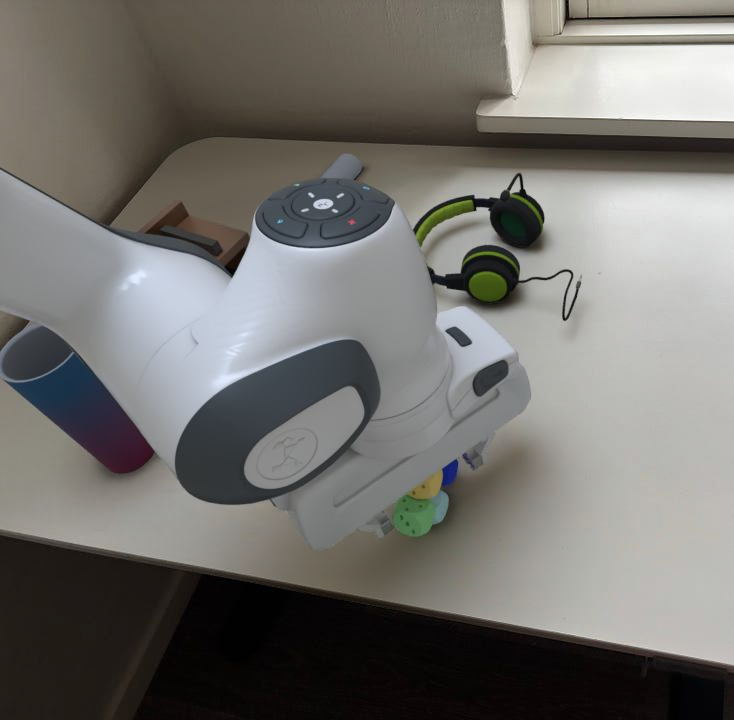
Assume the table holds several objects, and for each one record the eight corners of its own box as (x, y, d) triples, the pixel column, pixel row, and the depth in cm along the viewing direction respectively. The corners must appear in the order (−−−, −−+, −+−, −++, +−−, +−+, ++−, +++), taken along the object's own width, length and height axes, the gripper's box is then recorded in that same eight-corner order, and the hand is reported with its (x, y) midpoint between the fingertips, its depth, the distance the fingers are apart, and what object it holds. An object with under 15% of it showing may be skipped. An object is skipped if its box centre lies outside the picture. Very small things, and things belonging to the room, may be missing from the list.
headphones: (563, 270, 63) (366, 238, 70) (567, 342, 71) (388, 307, 77) (608, 165, 73) (430, 145, 79) (607, 238, 80) (444, 214, 86)
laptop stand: (184, 356, 76) (148, 304, 70) (120, 331, 80) (81, 279, 74) (266, 271, 84) (240, 217, 78) (204, 252, 88) (175, 198, 81)
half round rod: (252, 256, 86) (247, 244, 84) (339, 162, 96) (335, 151, 95) (281, 263, 84) (275, 252, 83) (365, 167, 95) (362, 155, 94)
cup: (137, 489, 66) (41, 389, 55) (80, 473, 68) (-24, 374, 57) (179, 429, 70) (98, 325, 59) (124, 416, 72) (35, 312, 61)
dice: (435, 465, 63) (422, 423, 59) (463, 471, 63) (452, 430, 58) (399, 546, 59) (382, 508, 54) (429, 554, 58) (413, 516, 53)
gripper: (277, 514, 43) (340, 602, 54) (536, 340, 50) (548, 449, 60) (235, 448, 47) (302, 542, 58) (482, 294, 53) (502, 404, 64)
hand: (430, 493), depth 59 cm, fingers open, 8 cm apart
